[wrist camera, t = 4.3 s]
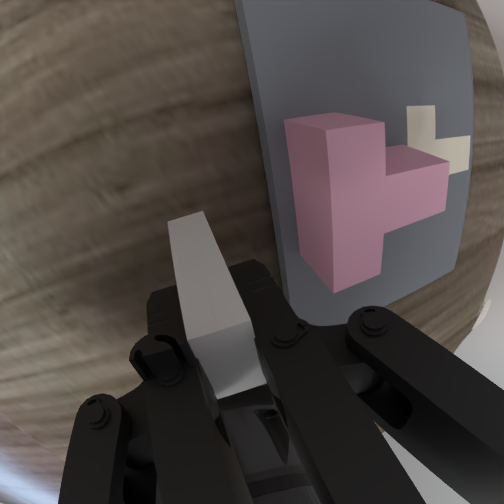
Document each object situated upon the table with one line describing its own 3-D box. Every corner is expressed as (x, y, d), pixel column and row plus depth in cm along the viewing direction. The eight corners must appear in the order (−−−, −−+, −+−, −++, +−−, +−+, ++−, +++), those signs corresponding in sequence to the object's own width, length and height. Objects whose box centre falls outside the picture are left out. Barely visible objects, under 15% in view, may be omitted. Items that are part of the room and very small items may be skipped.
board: (288, 335, 23) (294, 345, 22) (230, -17, 10) (236, -25, 9) (446, 263, 26) (453, 269, 25) (453, 13, 14) (464, 13, 13)
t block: (299, 255, 18) (333, 293, 15) (283, 119, 14) (325, 130, 11) (399, 220, 20) (439, 246, 16) (401, 106, 15) (451, 117, 12)
